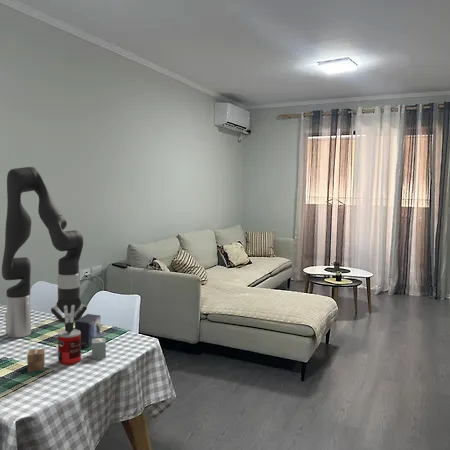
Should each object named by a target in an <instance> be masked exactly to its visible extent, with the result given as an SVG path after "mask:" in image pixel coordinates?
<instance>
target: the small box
mask: <svg viewBox="0 0 450 450" xmlns="http://www.w3.org/2000/svg"><path fill="white" fill-rule="evenodd" d="M74 329H77V330H80V331H81V348H89V347H92V339H97V338H101V315H99V314H93V313H91V314H90V313H87V314H85V315H83V316H81V317H80V318H79V320H77V321H74Z"/></svg>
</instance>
